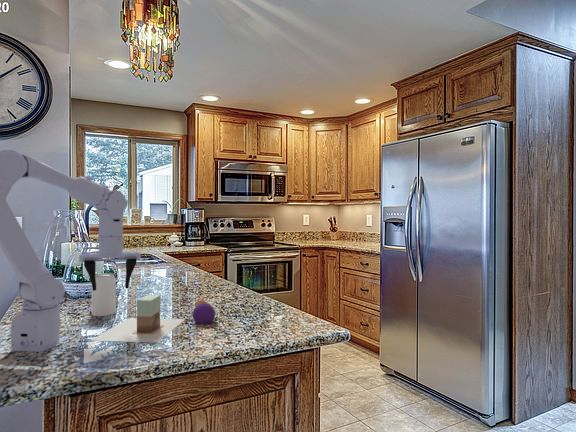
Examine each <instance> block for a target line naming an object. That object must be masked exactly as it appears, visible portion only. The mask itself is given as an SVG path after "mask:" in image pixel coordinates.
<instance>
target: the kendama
mask: <svg viewBox="0 0 576 432" xmlns="http://www.w3.org/2000/svg"><path fill="white" fill-rule="evenodd" d="M215 317H216V311H215V309H214V307H213V306H212V305H211V304H210V303H208V302H207V301H206V300H204V299H200V300H198V301H197V302H196V304H195V307H194V308H193V311H192V319H193V321H194V323H195V324H197V325H208V324H212V322H213V321H214V319H215Z"/></svg>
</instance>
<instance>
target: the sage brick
mask: <svg viewBox="0 0 576 432" xmlns="http://www.w3.org/2000/svg"><path fill="white" fill-rule="evenodd" d="M159 311H160V312H161V295H160V294H157V295H154V294H153V295H151V294H149V295H145V296H143V297H141V298H139V299H137V300H136V317H137V316H140V317H152V316H153V315H155V314H156V313H158V312H159Z"/></svg>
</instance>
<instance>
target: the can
mask: <svg viewBox="0 0 576 432" xmlns="http://www.w3.org/2000/svg"><path fill="white" fill-rule="evenodd" d="M95 277H96V290H95V291H93V287H92V286H91V315H92V316H93V317H106V316H112V315H115V314H116V312H117V311H116V310H117V286H116V285H117V281H116V276H115V273H110V272H107V273H105V272H103V273H95Z"/></svg>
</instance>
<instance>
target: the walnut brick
mask: <svg viewBox="0 0 576 432" xmlns="http://www.w3.org/2000/svg"><path fill="white" fill-rule="evenodd" d="M136 318H137V333H152V332H153V331H154V330H156V329H157V328H158V327H160V319H161V310H160V311H159V312H158V313H156V314H155V315H153V316H152V317H140V316H137V315H136Z"/></svg>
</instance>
